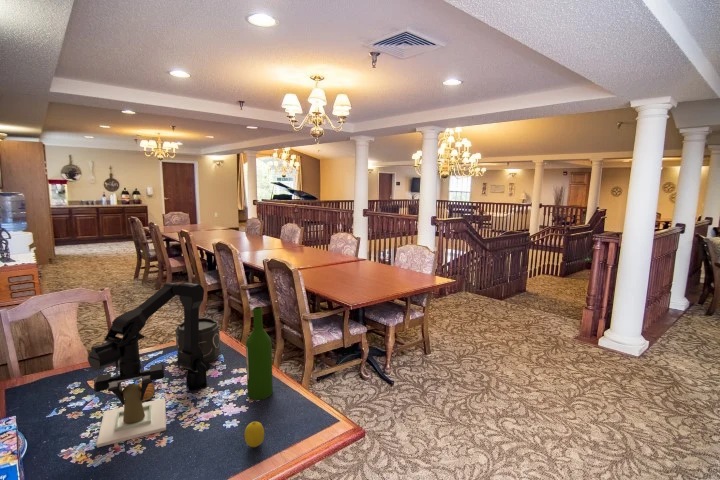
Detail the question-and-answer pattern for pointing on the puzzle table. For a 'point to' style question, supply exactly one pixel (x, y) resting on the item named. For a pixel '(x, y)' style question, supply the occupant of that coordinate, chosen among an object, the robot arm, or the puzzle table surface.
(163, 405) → the cream flat square slab
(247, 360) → the wine bottle
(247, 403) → the puzzle table surface
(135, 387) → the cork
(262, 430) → the lemon
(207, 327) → the dark grey round container
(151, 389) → the pastry
